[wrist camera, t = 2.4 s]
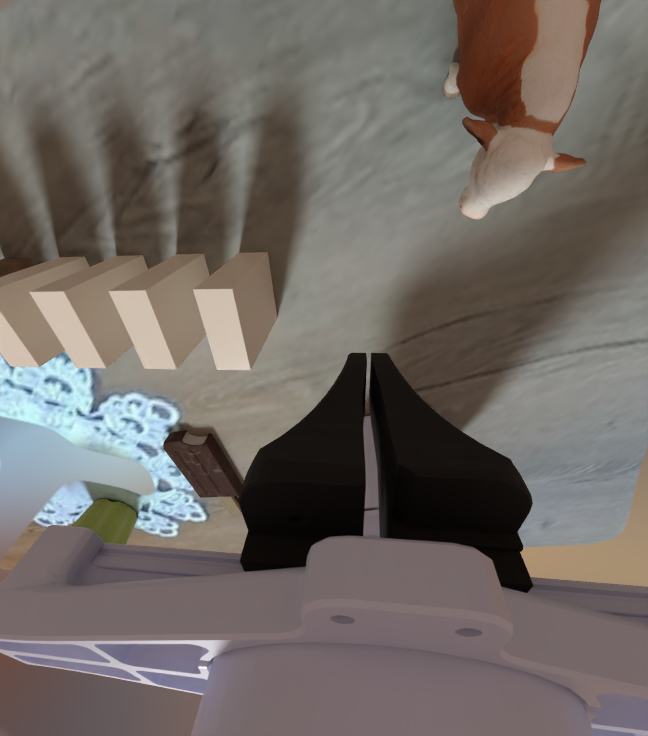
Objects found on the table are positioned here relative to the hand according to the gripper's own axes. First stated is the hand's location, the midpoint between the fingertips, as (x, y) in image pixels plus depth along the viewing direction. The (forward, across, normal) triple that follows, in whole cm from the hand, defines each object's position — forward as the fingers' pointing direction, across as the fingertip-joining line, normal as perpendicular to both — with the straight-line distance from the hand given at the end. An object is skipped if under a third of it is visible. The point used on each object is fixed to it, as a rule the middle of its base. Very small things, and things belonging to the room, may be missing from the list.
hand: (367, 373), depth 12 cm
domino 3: (+10, +12, 0) cm, 16 cm away
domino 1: (+10, +21, 0) cm, 23 cm away
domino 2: (+10, +16, 0) cm, 20 cm away
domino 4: (+10, +8, 0) cm, 13 cm away
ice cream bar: (+11, +17, +23) cm, 30 cm away
